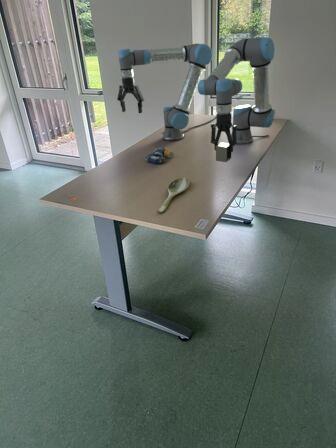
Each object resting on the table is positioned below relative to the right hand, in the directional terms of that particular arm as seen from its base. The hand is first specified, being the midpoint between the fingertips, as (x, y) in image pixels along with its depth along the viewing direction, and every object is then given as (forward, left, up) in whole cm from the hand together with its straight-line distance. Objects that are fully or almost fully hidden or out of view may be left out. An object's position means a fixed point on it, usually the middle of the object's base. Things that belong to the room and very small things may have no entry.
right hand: (223, 156), depth 178 cm
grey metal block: (0, 0, -1) cm, 1 cm away
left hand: (+7, -74, +15) cm, 76 cm away
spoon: (+35, -1, -11) cm, 37 cm away
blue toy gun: (+7, -48, -11) cm, 50 cm away
